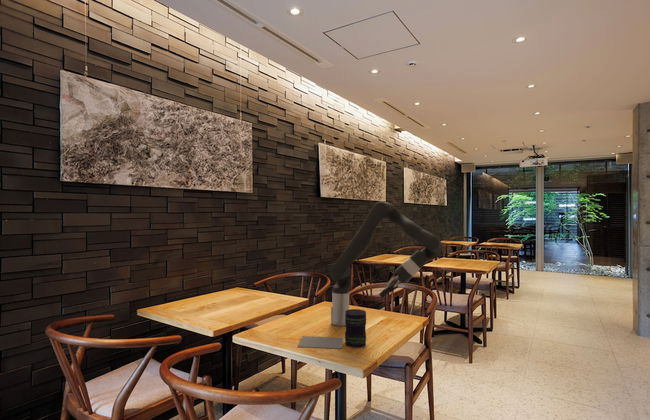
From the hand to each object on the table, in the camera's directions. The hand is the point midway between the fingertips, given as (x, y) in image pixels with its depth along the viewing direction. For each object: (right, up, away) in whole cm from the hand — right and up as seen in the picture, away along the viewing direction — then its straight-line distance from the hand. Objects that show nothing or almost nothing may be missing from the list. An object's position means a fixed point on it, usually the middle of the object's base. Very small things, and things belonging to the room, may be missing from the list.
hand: (380, 296), depth 171 cm
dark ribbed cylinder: (-12, -23, +1) cm, 26 cm away
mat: (-28, -22, +3) cm, 36 cm away
